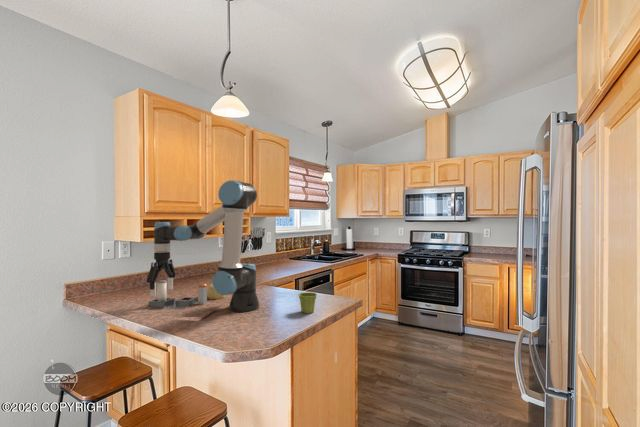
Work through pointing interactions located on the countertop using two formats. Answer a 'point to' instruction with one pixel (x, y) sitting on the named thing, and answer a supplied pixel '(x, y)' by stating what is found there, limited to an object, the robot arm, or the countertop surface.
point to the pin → (202, 294)
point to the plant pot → (307, 301)
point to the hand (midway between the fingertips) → (161, 292)
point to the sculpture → (213, 293)
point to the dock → (174, 303)
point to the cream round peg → (162, 290)
